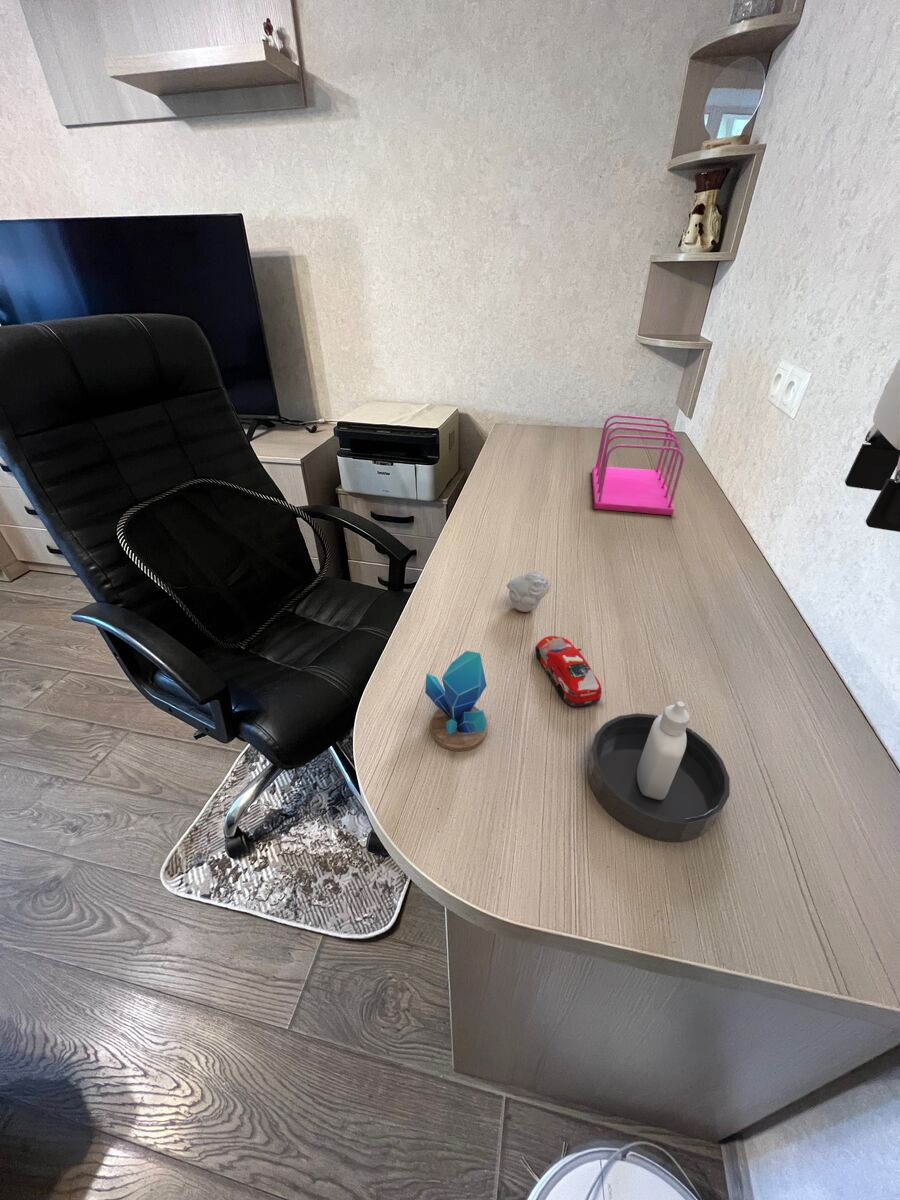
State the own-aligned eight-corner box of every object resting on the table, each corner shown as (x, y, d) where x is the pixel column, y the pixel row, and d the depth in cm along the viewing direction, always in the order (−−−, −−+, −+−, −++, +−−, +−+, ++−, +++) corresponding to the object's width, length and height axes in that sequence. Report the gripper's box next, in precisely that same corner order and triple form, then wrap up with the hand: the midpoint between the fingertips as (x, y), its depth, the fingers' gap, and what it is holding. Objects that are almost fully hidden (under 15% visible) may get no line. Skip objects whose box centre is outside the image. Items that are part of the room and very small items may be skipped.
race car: (530, 648, 75) (532, 627, 73) (563, 643, 76) (567, 622, 74) (566, 713, 65) (570, 690, 62) (604, 706, 66) (610, 684, 63)
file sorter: (658, 477, 133) (673, 416, 125) (672, 516, 113) (692, 447, 104) (591, 471, 136) (602, 412, 127) (593, 509, 116) (606, 441, 107)
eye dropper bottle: (682, 777, 56) (715, 701, 49) (657, 807, 53) (688, 731, 46) (647, 753, 59) (673, 679, 52) (621, 781, 56) (645, 705, 49)
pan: (720, 757, 59) (729, 737, 57) (718, 865, 49) (729, 845, 47) (600, 718, 64) (605, 699, 62) (575, 809, 53) (580, 789, 51)
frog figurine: (545, 622, 80) (550, 586, 76) (502, 616, 82) (505, 580, 78) (548, 601, 85) (553, 566, 81) (507, 596, 87) (510, 561, 83)
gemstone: (479, 699, 67) (483, 628, 60) (493, 752, 59) (499, 677, 53) (424, 704, 66) (422, 633, 59) (432, 759, 59) (430, 684, 52)
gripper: (1143, 288, 27) (960, 559, 37) (1009, 277, 40) (900, 480, 50) (970, 284, 30) (841, 539, 40) (896, 276, 43) (813, 469, 53)
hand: (874, 506), depth 45 cm, fingers open, 9 cm apart
